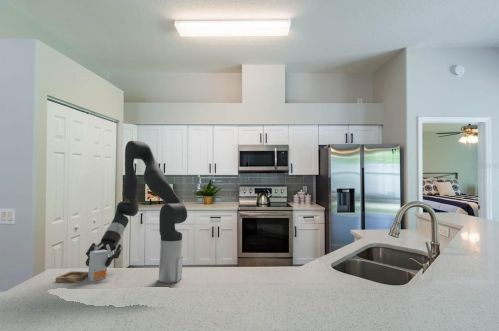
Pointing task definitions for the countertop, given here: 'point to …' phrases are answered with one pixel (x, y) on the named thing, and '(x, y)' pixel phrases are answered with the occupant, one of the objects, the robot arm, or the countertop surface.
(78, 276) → the tray
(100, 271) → the skincare box
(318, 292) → the countertop surface
